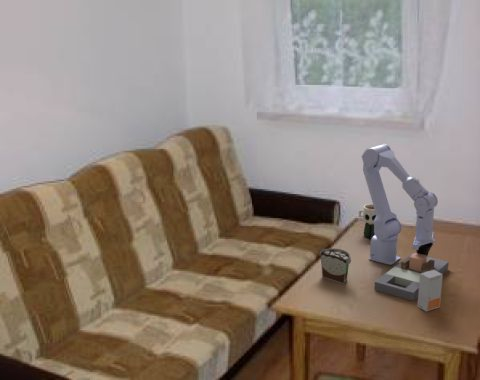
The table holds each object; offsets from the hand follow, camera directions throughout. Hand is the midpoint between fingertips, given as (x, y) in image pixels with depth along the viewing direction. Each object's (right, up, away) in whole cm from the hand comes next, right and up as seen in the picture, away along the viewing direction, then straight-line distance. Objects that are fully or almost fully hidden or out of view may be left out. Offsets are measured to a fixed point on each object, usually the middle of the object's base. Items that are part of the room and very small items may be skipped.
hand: (422, 261), depth 229 cm
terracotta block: (-2, -2, -3) cm, 4 cm away
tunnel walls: (-2, -2, -2) cm, 4 cm away
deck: (-5, -6, -4) cm, 9 cm away
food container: (-31, -6, -1) cm, 31 cm away
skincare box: (-5, -12, -24) cm, 27 cm away
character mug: (-11, +7, +35) cm, 37 cm away
